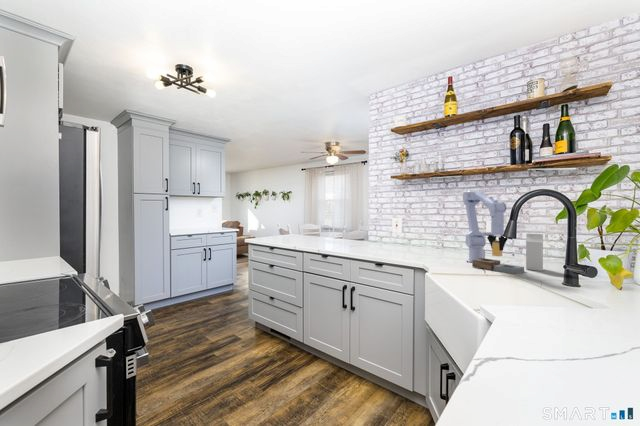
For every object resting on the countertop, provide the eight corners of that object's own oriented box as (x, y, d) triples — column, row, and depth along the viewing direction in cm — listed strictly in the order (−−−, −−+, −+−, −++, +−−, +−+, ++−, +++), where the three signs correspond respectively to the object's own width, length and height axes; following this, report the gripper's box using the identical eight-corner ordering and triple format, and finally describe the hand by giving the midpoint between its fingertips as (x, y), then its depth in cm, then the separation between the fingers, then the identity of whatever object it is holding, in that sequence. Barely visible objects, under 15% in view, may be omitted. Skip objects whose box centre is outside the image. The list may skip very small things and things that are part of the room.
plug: (495, 255, 158) (495, 240, 158) (502, 255, 155) (502, 240, 155) (492, 255, 156) (492, 240, 156) (499, 256, 153) (499, 241, 153)
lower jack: (503, 268, 158) (503, 263, 158) (524, 271, 150) (524, 266, 150) (493, 270, 153) (493, 265, 153) (515, 274, 144) (515, 269, 144)
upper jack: (481, 265, 168) (481, 258, 168) (500, 267, 159) (500, 260, 159) (472, 266, 162) (472, 259, 162) (490, 270, 154) (490, 262, 154)
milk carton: (542, 271, 150) (543, 234, 150) (526, 269, 155) (526, 234, 154) (542, 268, 156) (542, 233, 156) (526, 267, 160) (526, 233, 160)
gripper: (479, 224, 160) (479, 249, 160) (508, 225, 147) (508, 252, 147) (486, 224, 163) (486, 248, 163) (515, 225, 151) (515, 251, 151)
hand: (497, 250), depth 156 cm, fingers closed on plug, 3 cm apart
